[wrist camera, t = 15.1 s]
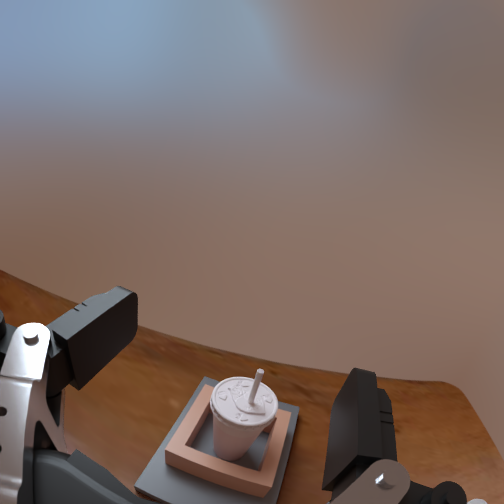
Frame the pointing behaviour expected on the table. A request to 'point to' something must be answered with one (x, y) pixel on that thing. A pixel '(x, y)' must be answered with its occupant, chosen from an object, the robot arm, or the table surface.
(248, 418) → the smoothie
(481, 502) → the pill bottle
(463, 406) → the table surface
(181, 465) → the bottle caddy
